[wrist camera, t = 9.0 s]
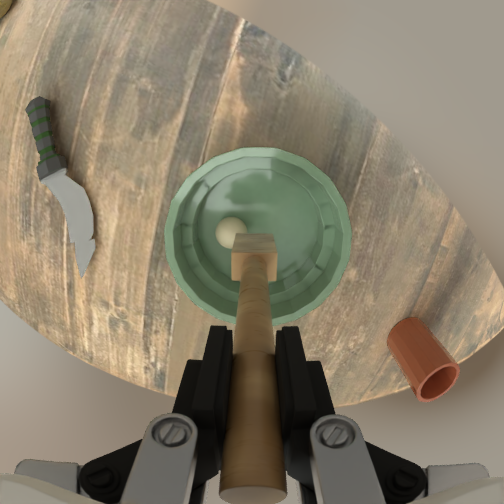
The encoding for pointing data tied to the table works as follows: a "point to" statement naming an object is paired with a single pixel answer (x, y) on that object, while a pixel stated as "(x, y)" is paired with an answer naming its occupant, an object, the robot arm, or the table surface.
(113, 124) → the table surface
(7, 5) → the potato
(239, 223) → the bead
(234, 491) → the wooden masher
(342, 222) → the bowl
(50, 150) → the knife
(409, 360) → the utensil cup
